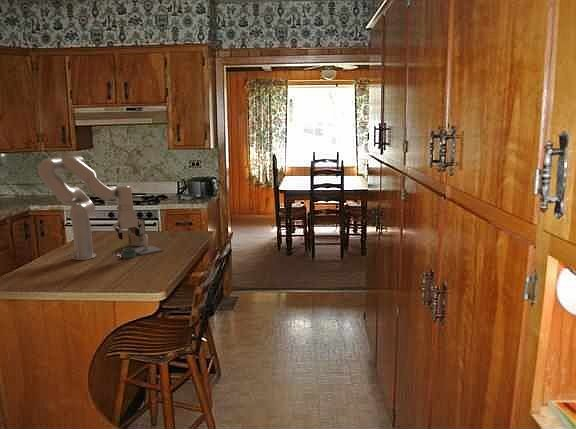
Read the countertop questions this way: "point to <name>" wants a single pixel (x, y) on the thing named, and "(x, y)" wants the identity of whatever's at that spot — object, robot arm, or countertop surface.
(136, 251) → the post fixture
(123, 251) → the ring
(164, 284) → the countertop surface
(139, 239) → the coffee box
